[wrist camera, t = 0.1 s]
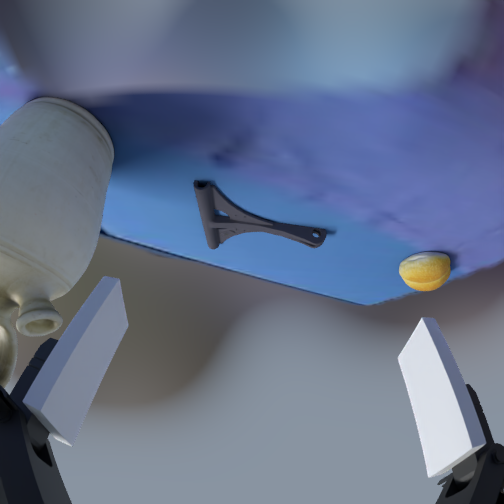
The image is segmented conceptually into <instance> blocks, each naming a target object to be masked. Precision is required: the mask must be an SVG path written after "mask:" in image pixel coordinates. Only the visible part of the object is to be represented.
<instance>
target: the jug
mask: <svg viewBox="0 0 504 504" xmlns="http://www.w3.org/2000/svg"><path fill="white" fill-rule="evenodd" d="M113 160H114V147H113V143H112V140H111V138H110V136H109V134H108V132H107V130H106V129H105V128H104V126H103V125H102V124H101V123H100V122H99V121H98V120H97V119H96V118H95V117H94V116H93V115H92V114H91V113H90V112H88V111H87V110H86V109H84V108H82V107H80V106H79V105H77V104H75V103H73V102H71V101H68V100H65V99H61V98H54V97H42V98H37V99H34V100H32V101H30V102H28V103H26V104H25V105H24V106H23V107H21V108H20V109H18V110H17V111H16V112H14V113H13V114H12V115H11V116H10V117H9V118H8V119H7V120H6V121H5V122H4V123H3V124H2V125H1V126H0V385H1V386H2V387H3V388H5V387H6V385H7V384H8V382H9V381H10V378H11V377H12V374H13V372H14V368H15V364H16V360H17V351H18V343H17V335H16V332H15V329H14V326H13V324H12V322H11V319H10V316H11V314H12V312H13V311H14V310H16V309H17V308H20V309H19V318H18V320H17V323H16V327H17V330H18V331H19V332H20V333H21V334H23V335H26V336H44V335H47V334H49V333H52V332H54V331H56V330H57V329H58V328H59V327H60V326H61V325H62V321H63V319H62V317H61V315H60V314H59V313H58V312H57V311H56V310H55V308H54V306H53V305H52V304H51V302H50V301H52V300H54V299H56V298H58V297H61V296H62V295H64V294H66V293H67V292H68V291H69V290H70V289H72V287H73V286H74V284H75V283H76V282H77V281H78V280H79V279H80V277H81V276H82V274H83V273H84V271H85V270H86V268H87V266H88V265H89V263H90V260H91V258H92V256H93V253H94V251H95V248H96V245H97V242H98V237H99V232H100V228H101V222H102V216H103V210H104V204H105V197H106V192H107V188H108V185H109V181H110V177H111V172H112V163H113Z"/></svg>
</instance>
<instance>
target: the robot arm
mask: <svg viewBox="0 0 504 504" xmlns="http://www.w3.org/2000/svg"><path fill="white" fill-rule="evenodd" d="M127 328H128V321H127V316H126V311H125V306H124V301H123V296H122V291H121V284H120V279H118V278H113V277H107V276H104V277H103V278H102V280H101V281H100V282H99V283H98V285H97V286H96V288H95V289H94V290H93V292H92V293H91V294H90V296H89V297H88V298H87V300H86V301H85V303H84V304H83V306H82V307H81V309H80V310H79V311H78V313H77V314H76V316H75V317H74V319H73V320H72V321H71V323H70V324H69V326H68V327H67V329H66V330H65V332H64V333H63V335H62V336H61V338H60V339H59V341H58V340H56V339H53V338H49V339H48V340H47V341H46V342H44V343H43V344H42V345H40V347H39V348H38V350H37V351H36V353H35V355H34V358H32V359H31V361H30V362H29V366H27V367H26V369H25V370H24V372H23V374H22V375H21V377H20V379H19V381H18V382H17V384H16V385H15V387H14V389H13V390H12V392H11V394H10V395H9V394H8V393H7V392H6V391H5V389H4V388H3V387H2V386H1V385H0V504H72V503H71V500H70V498H69V496H68V493H67V491H66V488H65V486H64V483H63V481H62V478H61V476H60V473H59V470H58V467H57V464H56V461H55V458H54V455H53V452H52V449H51V446H50V442H49V441H48V439H47V438H48V435H49V433H50V434H51V435H52V436H53V437H54V438H55V439H57V440H59V441H61V442H63V443H65V444H67V445H70V446H72V447H73V445H74V442H75V440H76V437H77V435H78V433H79V430H80V428H81V425H82V423H83V421H84V418H85V416H86V414H87V411H88V409H89V407H90V405H91V402H92V400H93V398H94V396H95V393H96V391H97V389H98V387H99V385H100V382H101V380H102V378H103V376H104V374H105V372H106V370H107V368H108V365H109V364H110V361H111V359H112V357H113V355H114V353H115V351H116V349H117V347H118V345H119V343H120V341H121V339H122V337H123V335H124V333H125V331H126V330H127ZM398 361H399V364H400V367H401V370H402V374H403V377H404V380H405V384H406V387H407V390H408V394H409V397H410V401H411V404H412V408H413V412H414V415H415V420H416V423H417V427H418V432H419V436H420V440H421V444H422V448H423V453H424V458H425V462H426V468H427V473H428V477H429V478H430V477H434V476H437V475H441V474H444V473H445V472H447V471H448V470H450V469H451V468H452V471H453V473H451V474H450V475H448V476H446V477H445V478H443V479H441V480H440V481H439V483H438V485H440V484H442V483H444V482H445V481H446V483H445V484H444V485H442V487H443V490H442V492H441V494H440V496H439V498H438V500H437V502H436V504H504V490H503V489H504V446H502V445H501V444H498V443H496V444H495V443H494V440H493V438H492V435H491V432H490V429H489V426H488V423H487V420H486V418H485V415H484V413H483V409H482V407H481V405H480V402H479V399H478V397H477V394H476V392H475V391H474V390H473V388H472V387H471V386H470V385H469V384H466V385H465V382H464V380H463V378H462V375H461V373H460V371H459V368H458V366H457V364H456V362H455V359H454V357H453V355H452V353H451V351H450V348H449V346H448V345H447V342H446V340H445V338H444V336H443V334H442V332H441V330H440V328H439V326H438V324H437V322H436V320H435V318H423V317H422V318H421V320H420V322H419V324H418V325H417V327H416V329H415V330H414V332H413V334H412V335H411V337H410V339H409V340H408V342H407V344H406V346H405V347H404V348H403V350H402V352H401V353H400V355H399V357H398Z"/></svg>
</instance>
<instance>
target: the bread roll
mask: <svg viewBox="0 0 504 504" xmlns="http://www.w3.org/2000/svg"><path fill="white" fill-rule="evenodd" d="M450 271H451V269H450V258H449V257H448V256H447V255H446V254H444V253H439V252H420V253H417V254H414V255H412V256H410V257H408V258H406V259H405V260H403V261H402V262H401V264H400V267H399V273H400V275H401V276H402V278H403V280H404V281H405V283H406V284H408V285H409V286H410V287H411V288H413V289H415V290H420V291H429V290H434V289H437V288H438V287H440V286H441V285H442V284H444V282H445V281H446V280H447V279H448V278H449V276H450Z"/></svg>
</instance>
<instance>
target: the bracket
mask: <svg viewBox="0 0 504 504" xmlns="http://www.w3.org/2000/svg"><path fill="white" fill-rule="evenodd" d="M194 189H195V193H196V198H197V202H198V206H199V210H200V215H201V219H202V223H203V227H204V231H205V235H206V239H207V243H208V246H209V248H211V249H216V248H218V246H219V243H221V244H222V243H223V242H224V241H225V240H226V239H228V238H230V237H232V236H235V235H238V234H241V233H246V232H266V233H271V234H275V235H279V236H283V237H286V238H288V239H291V240H294V241H297V242H300V243H302V244H305V245H307V246H309V247H311V248H317V247H319V246H321V245H322V243H323V242H324V240H325V238H326V230H325V229H319V228H312V227H305V226H298V225H290V224H283V223H275V222H271V221H268V220H265V219H262V218H259V217H256V216H254V215H251V214H249V213H247V212H245V211H243V210H241V209H240V208H238V207H237V206H235V205H234V204H232V203H231V202H230V201H229V200H227V199H226V198H225V197H224V196H223V195H222V194H221V193H220V192H219V191H218V189H217V188H216V187H215V186H214V185H210V182H207V185H206V186H205V187H203V188H200V187H199V183H198V181H194ZM214 209H217V210H220V211H222V212H224V213H226V214H227V215H228V216H229V217H226V216H219V215H215V213H214ZM313 231H314V232H313ZM316 231H318V232H319V233H320V234H319V233H318V232H316ZM313 233H315V234H317V235H318V236H319V237H314V236H313Z"/></svg>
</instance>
